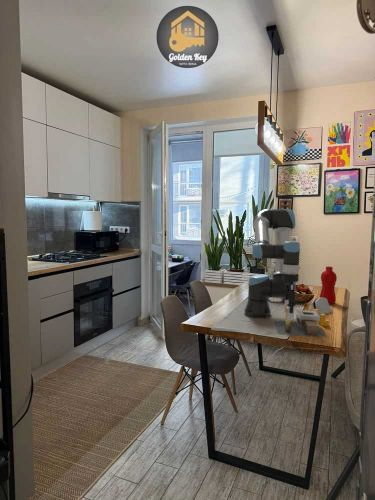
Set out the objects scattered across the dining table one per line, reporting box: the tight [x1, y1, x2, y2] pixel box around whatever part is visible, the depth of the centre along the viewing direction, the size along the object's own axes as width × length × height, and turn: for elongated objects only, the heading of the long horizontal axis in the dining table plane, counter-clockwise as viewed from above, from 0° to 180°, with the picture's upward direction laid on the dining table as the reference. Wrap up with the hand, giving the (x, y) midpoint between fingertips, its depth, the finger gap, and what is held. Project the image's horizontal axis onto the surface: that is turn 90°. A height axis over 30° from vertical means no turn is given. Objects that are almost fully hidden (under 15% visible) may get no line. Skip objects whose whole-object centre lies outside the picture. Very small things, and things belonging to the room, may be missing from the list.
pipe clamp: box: [311, 309, 330, 327], centre depth 188 cm, size 12×4×6 cm, turn 1°
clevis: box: [295, 309, 321, 336], centre depth 176 cm, size 10×20×7 cm, turn 170°
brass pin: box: [284, 306, 293, 333], centre depth 171 cm, size 4×4×12 cm
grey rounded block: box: [311, 297, 333, 315], centre depth 211 cm, size 17×5×10 cm, turn 136°
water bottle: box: [319, 266, 338, 305], centre depth 236 cm, size 9×11×25 cm
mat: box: [274, 320, 327, 338], centre depth 177 cm, size 22×23×1 cm
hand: (288, 315), depth 170 cm, fingers open, 13 cm apart
